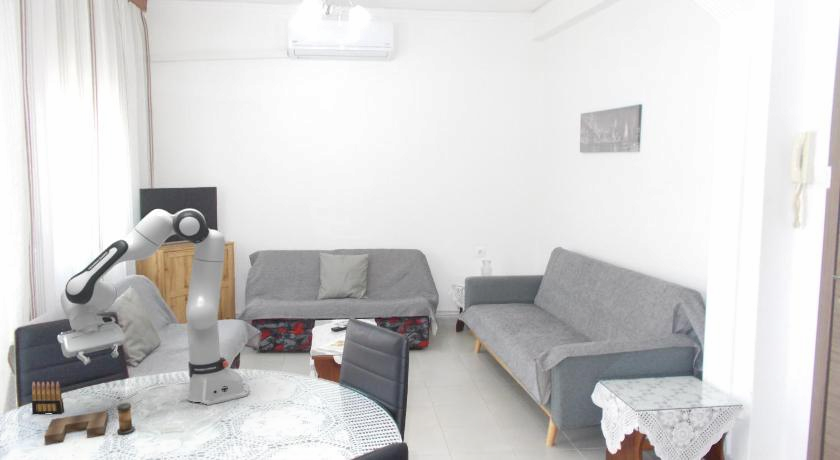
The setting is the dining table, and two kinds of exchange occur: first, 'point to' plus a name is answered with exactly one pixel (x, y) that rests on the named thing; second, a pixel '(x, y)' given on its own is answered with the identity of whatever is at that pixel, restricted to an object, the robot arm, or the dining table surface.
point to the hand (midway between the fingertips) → (102, 359)
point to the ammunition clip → (47, 399)
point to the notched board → (76, 426)
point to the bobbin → (125, 419)
